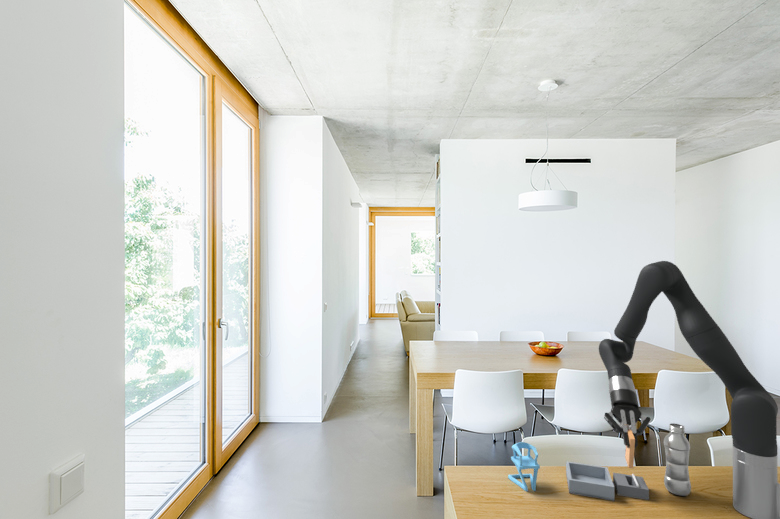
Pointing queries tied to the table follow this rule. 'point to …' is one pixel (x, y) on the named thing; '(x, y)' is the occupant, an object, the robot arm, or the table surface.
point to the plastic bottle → (677, 461)
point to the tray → (589, 480)
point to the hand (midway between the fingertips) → (631, 447)
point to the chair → (524, 465)
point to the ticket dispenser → (630, 486)
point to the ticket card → (630, 450)
